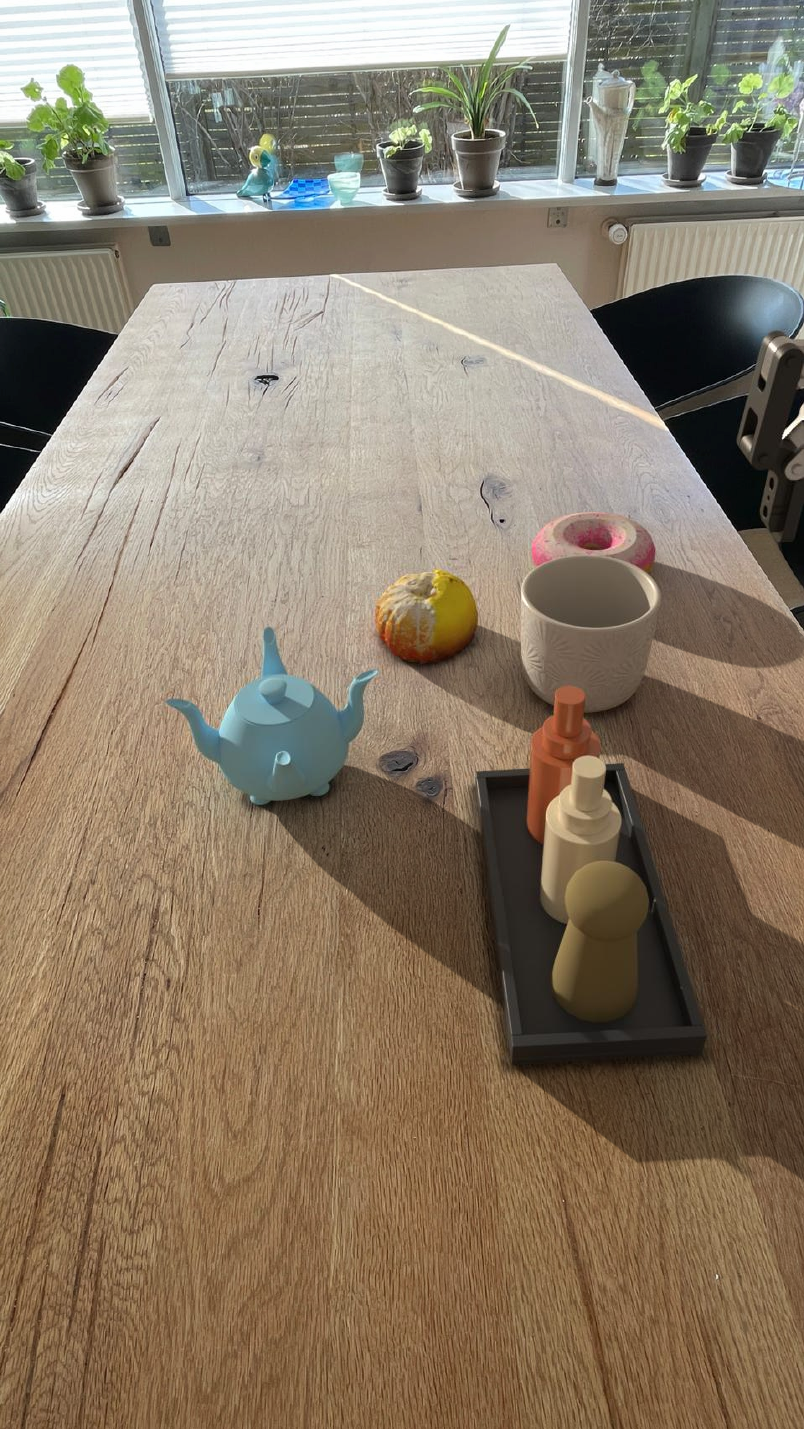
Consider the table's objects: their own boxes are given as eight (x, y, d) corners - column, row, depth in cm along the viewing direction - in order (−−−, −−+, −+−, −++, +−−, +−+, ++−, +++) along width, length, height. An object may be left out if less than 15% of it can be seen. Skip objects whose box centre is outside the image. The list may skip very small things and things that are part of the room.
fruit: (401, 592, 105) (418, 536, 99) (482, 638, 103) (505, 583, 97) (348, 645, 98) (363, 587, 92) (434, 695, 96) (455, 639, 90)
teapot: (283, 708, 92) (268, 622, 85) (392, 760, 85) (386, 671, 79) (186, 787, 84) (162, 699, 77) (299, 850, 78) (283, 760, 71)
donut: (521, 597, 104) (523, 558, 101) (541, 536, 114) (543, 499, 111) (646, 611, 101) (652, 571, 98) (656, 548, 111) (661, 509, 108)
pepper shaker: (566, 936, 69) (577, 834, 62) (648, 965, 67) (669, 863, 60) (537, 1002, 65) (546, 902, 58) (624, 1035, 63) (644, 936, 56)
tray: (701, 1054, 63) (707, 1035, 61) (511, 1065, 63) (512, 1046, 61) (620, 782, 82) (623, 762, 81) (475, 790, 82) (475, 771, 81)
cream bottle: (623, 902, 71) (646, 771, 62) (572, 938, 69) (588, 806, 60) (575, 860, 75) (590, 729, 66) (525, 893, 72) (533, 762, 63)
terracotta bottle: (604, 829, 77) (622, 698, 68) (556, 859, 75) (568, 728, 66) (559, 793, 80) (571, 663, 71) (513, 821, 78) (519, 691, 69)
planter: (535, 735, 87) (541, 638, 80) (503, 655, 96) (506, 562, 89) (665, 716, 88) (682, 620, 81) (621, 639, 98) (633, 547, 90)
